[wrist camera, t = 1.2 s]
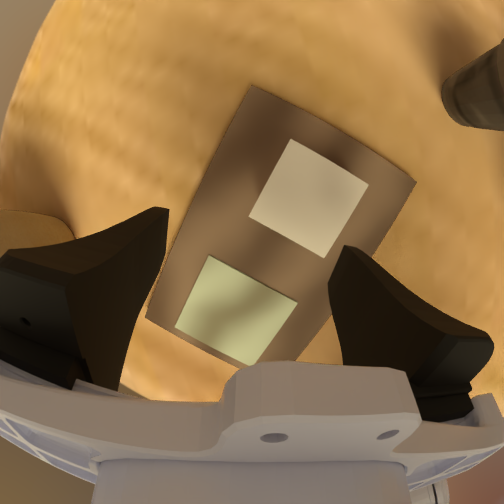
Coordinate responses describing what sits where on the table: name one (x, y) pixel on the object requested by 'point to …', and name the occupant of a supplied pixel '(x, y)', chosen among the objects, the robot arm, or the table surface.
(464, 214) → the table surface
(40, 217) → the plant pot
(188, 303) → the post board
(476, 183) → the table surface
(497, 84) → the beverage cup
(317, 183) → the beige stacked cube
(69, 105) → the table surface
